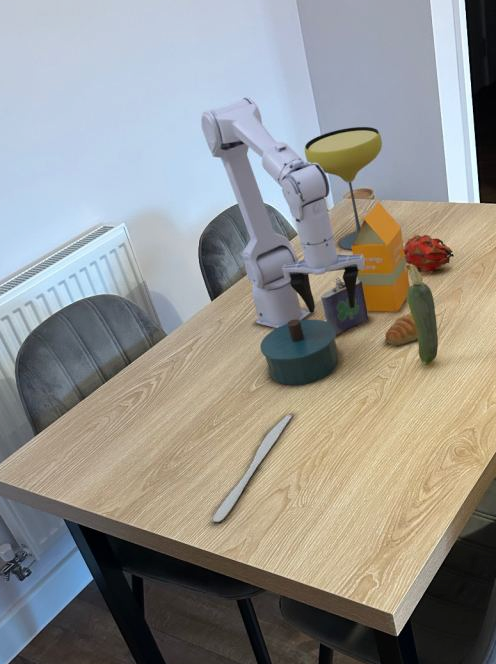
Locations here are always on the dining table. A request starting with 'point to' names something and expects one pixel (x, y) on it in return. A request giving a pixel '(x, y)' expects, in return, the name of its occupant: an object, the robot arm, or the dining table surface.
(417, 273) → the vegetable
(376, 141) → the cocktail glass
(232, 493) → the butter knife
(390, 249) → the orange juice
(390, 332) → the pastry
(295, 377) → the pan
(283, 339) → the lid
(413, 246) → the dragon fruit
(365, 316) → the flask
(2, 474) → the dining table surface
